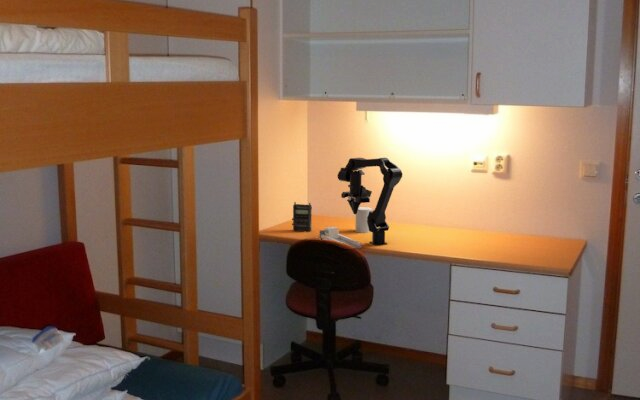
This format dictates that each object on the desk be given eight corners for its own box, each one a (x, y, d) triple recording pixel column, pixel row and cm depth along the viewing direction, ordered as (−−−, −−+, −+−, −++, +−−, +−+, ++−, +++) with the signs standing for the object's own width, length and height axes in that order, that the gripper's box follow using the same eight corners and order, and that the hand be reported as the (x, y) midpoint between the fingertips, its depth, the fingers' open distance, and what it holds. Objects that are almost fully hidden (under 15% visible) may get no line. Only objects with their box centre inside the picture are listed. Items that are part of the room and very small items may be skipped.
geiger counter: (290, 231, 373) (290, 202, 371) (293, 229, 378) (293, 201, 375) (310, 232, 371) (310, 203, 369) (312, 230, 375) (312, 202, 373)
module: (338, 238, 354) (338, 228, 353) (329, 239, 351) (329, 229, 351) (333, 236, 358) (333, 226, 357) (324, 237, 356) (324, 227, 355)
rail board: (362, 247, 338) (362, 239, 338) (343, 249, 334) (343, 241, 333) (335, 236, 361) (336, 228, 360) (318, 238, 357) (318, 230, 356)
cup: (371, 229, 379) (371, 207, 377) (370, 232, 371) (371, 210, 369) (355, 229, 380) (356, 206, 378) (355, 232, 372) (355, 209, 370)
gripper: (379, 184, 350) (378, 216, 353) (360, 179, 366) (359, 209, 369) (359, 186, 345) (359, 218, 348) (341, 181, 361) (340, 211, 364)
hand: (355, 214), depth 357 cm, fingers closed
